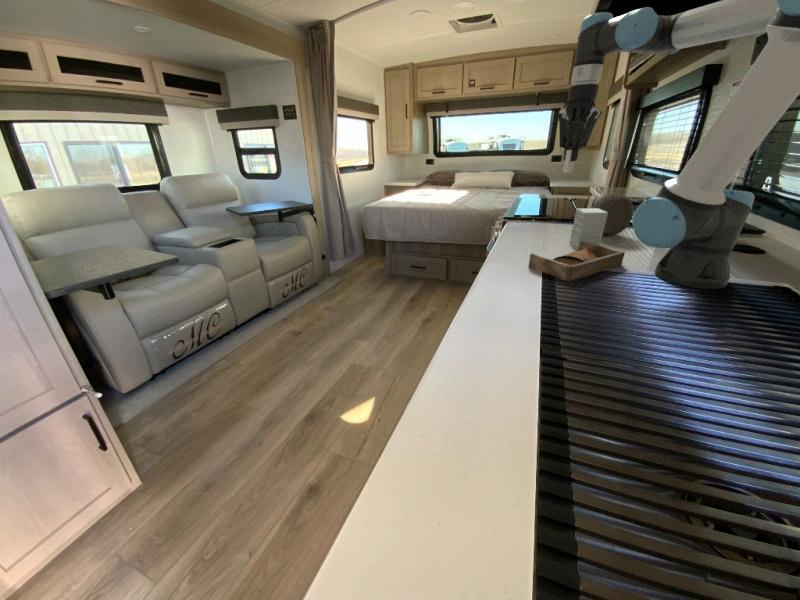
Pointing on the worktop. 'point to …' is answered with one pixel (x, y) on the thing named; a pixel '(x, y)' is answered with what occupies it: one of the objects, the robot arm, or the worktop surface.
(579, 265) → the box
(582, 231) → the supplement box
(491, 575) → the worktop surface
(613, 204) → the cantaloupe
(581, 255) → the sunglasses case
